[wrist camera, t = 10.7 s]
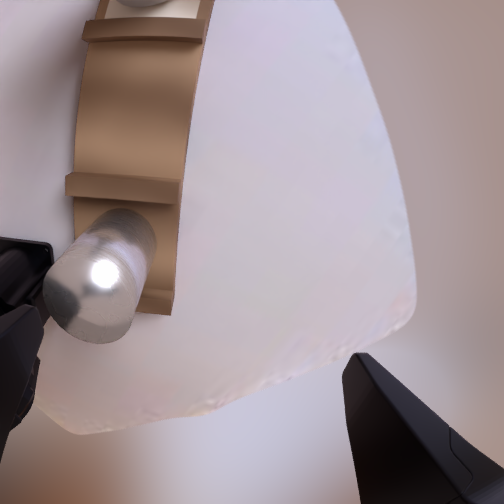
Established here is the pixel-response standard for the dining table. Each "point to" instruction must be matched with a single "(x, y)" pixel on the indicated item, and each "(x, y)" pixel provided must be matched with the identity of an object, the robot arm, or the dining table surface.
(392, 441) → the robot arm
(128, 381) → the dining table surface
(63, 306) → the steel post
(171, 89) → the walnut rail
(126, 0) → the beverage can
